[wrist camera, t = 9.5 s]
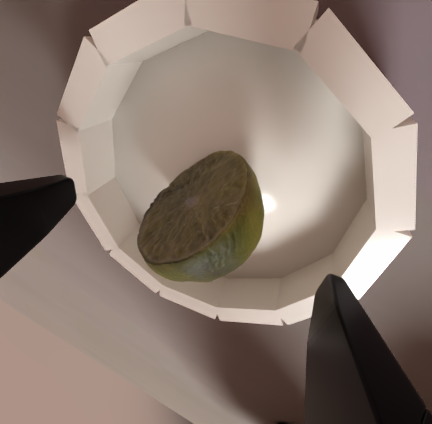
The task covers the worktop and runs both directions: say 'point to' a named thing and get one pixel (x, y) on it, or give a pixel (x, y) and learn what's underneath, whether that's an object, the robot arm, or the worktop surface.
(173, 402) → the worktop surface
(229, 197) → the lime
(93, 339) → the worktop surface
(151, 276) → the ceramic dish
